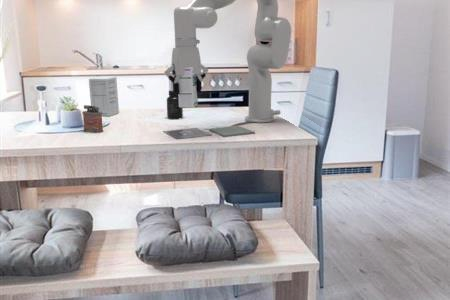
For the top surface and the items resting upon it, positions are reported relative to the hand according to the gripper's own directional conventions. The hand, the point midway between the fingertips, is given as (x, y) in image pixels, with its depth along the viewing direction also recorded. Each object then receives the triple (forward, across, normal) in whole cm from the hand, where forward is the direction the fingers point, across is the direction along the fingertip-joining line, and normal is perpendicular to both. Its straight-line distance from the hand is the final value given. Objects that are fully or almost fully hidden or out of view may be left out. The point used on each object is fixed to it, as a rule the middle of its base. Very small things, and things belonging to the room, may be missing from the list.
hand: (187, 92), depth 165 cm
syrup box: (+5, 0, 0) cm, 5 cm away
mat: (+15, -15, +5) cm, 22 cm away
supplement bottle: (+16, -7, -32) cm, 36 cm away
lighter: (+15, +31, -20) cm, 40 cm away
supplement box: (+15, +18, -55) cm, 60 cm away
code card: (+15, +1, 0) cm, 15 cm away
